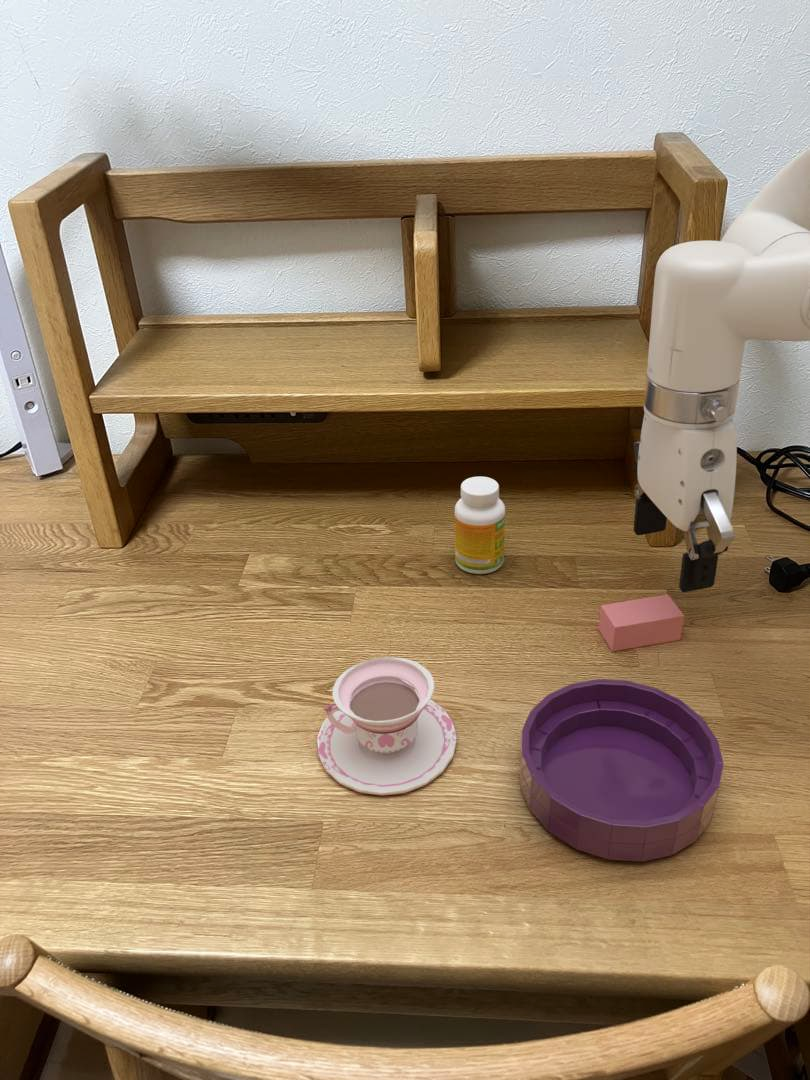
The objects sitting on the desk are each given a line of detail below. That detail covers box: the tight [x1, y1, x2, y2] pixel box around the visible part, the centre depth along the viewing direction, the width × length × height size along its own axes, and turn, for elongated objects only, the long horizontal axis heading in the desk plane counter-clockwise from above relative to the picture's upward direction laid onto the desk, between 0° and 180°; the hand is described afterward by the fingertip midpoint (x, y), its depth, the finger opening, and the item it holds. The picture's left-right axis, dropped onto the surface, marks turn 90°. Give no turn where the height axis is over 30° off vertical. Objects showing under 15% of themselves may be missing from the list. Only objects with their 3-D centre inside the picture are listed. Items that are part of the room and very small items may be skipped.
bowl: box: [519, 678, 724, 862], centre depth 71 cm, size 15×15×4 cm
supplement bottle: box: [454, 476, 506, 575], centre depth 96 cm, size 5×5×10 cm
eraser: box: [598, 594, 685, 652], centre depth 87 cm, size 7×4×3 cm, turn 102°
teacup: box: [316, 656, 458, 796], centre depth 75 cm, size 12×12×6 cm
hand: (671, 558), depth 86 cm, fingers open, 9 cm apart
